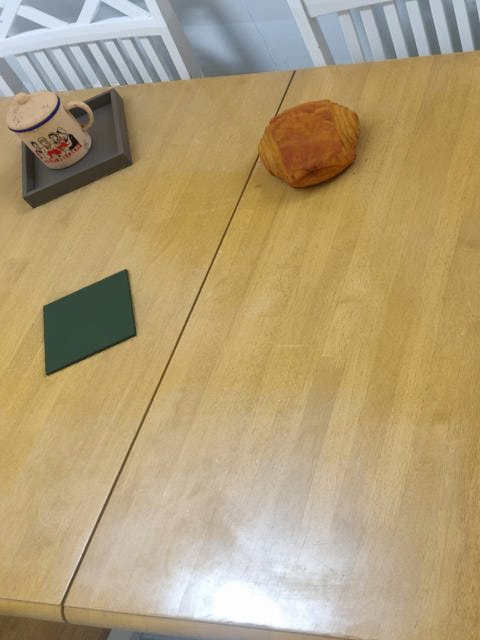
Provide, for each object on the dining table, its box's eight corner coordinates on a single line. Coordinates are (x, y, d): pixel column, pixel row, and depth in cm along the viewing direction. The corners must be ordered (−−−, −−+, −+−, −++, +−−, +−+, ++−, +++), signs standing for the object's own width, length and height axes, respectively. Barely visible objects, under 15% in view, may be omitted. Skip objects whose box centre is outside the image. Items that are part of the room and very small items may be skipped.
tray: (32, 208, 119) (22, 198, 117) (30, 139, 130) (21, 128, 128) (132, 164, 119) (123, 152, 117) (122, 98, 130) (113, 87, 128)
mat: (47, 375, 98) (45, 374, 98) (44, 307, 106) (42, 306, 105) (136, 335, 99) (134, 333, 98) (127, 270, 106) (126, 268, 106)
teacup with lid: (46, 179, 121) (-8, 124, 112) (42, 148, 126) (-9, 92, 117) (112, 148, 122) (65, 90, 112) (106, 118, 127) (60, 60, 117)
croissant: (275, 151, 116) (245, 112, 110) (362, 110, 113) (336, 68, 107) (277, 212, 108) (244, 175, 102) (371, 170, 105) (343, 129, 99)
